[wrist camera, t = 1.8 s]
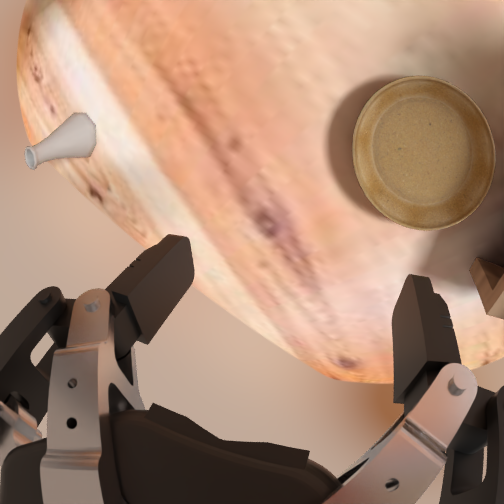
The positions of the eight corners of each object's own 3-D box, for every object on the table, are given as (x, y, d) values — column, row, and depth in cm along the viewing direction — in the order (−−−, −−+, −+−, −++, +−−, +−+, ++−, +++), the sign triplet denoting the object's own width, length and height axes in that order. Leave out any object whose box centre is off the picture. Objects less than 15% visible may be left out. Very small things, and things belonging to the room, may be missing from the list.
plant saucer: (372, 230, 28) (373, 243, 26) (329, 95, 22) (327, 96, 20) (489, 206, 21) (499, 217, 19) (466, 68, 15) (477, 68, 12)
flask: (73, 105, 29) (18, 125, 22) (102, 120, 30) (43, 144, 22) (67, 145, 34) (18, 170, 26) (94, 163, 34) (43, 193, 27)
